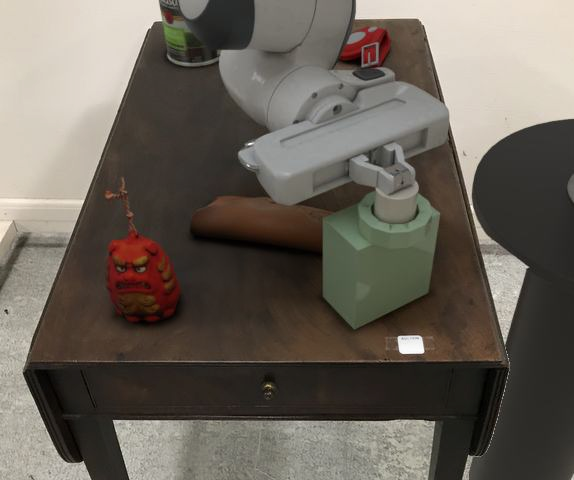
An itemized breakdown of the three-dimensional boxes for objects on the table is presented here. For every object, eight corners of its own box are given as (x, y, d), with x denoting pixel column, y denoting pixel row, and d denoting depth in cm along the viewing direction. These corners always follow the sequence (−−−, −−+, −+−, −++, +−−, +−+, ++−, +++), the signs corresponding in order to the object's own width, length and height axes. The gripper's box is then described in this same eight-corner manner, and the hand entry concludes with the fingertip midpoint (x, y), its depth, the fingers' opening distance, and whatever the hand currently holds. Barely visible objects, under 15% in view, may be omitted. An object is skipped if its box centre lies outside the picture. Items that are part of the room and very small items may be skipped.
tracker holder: (319, 47, 116) (362, 15, 118) (328, 71, 119) (370, 39, 121) (366, 56, 107) (412, 21, 109) (375, 82, 110) (419, 47, 112)
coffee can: (197, 73, 114) (184, -17, 103) (154, 56, 119) (138, -32, 108) (240, 50, 119) (232, -38, 109) (198, 34, 124) (186, -51, 113)
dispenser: (394, 262, 80) (404, 167, 71) (442, 305, 75) (459, 209, 66) (322, 296, 77) (322, 201, 68) (367, 344, 72) (374, 247, 63)
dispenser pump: (397, 207, 70) (400, 168, 66) (422, 228, 67) (427, 189, 64) (364, 221, 68) (366, 182, 65) (389, 243, 66) (393, 204, 63)
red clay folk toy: (109, 328, 75) (73, 217, 64) (120, 283, 80) (88, 172, 69) (179, 326, 75) (155, 214, 64) (186, 281, 80) (164, 170, 69)
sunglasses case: (349, 213, 86) (345, 191, 80) (339, 267, 85) (334, 249, 78) (212, 196, 90) (197, 174, 83) (200, 247, 88) (183, 229, 82)
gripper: (226, 121, 66) (305, 193, 57) (398, 62, 73) (491, 118, 64) (232, 177, 70) (306, 251, 62) (394, 116, 77) (480, 175, 69)
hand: (402, 183), depth 63 cm, fingers closed, pressing on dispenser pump
